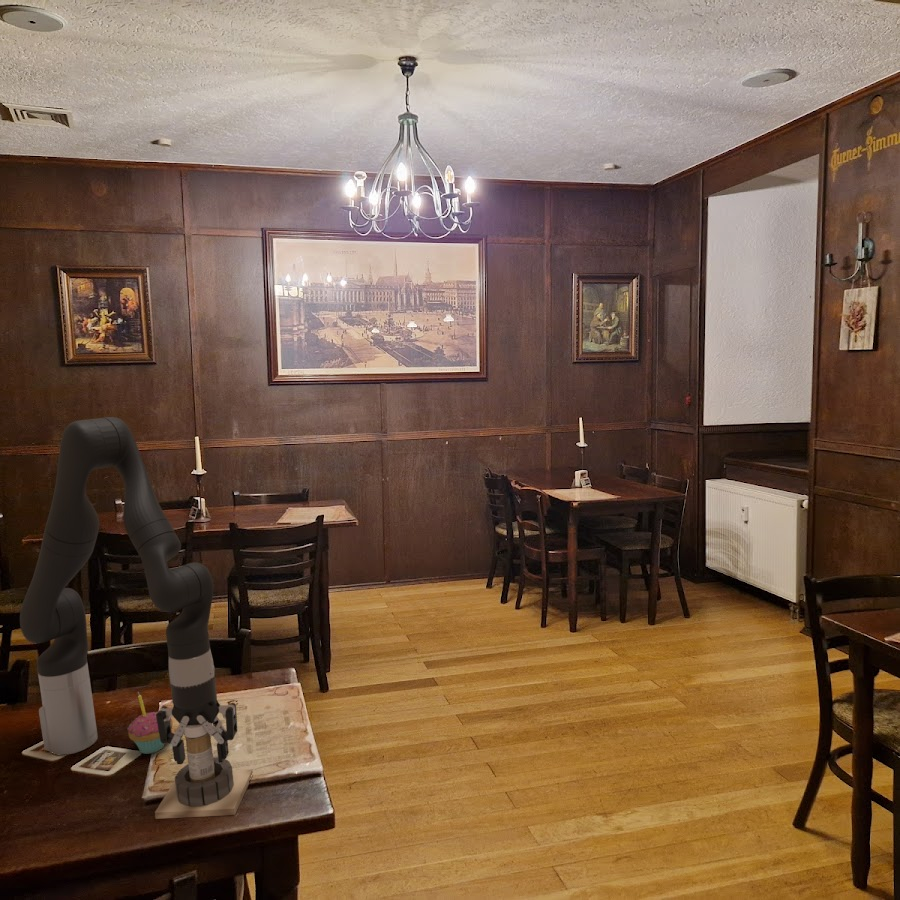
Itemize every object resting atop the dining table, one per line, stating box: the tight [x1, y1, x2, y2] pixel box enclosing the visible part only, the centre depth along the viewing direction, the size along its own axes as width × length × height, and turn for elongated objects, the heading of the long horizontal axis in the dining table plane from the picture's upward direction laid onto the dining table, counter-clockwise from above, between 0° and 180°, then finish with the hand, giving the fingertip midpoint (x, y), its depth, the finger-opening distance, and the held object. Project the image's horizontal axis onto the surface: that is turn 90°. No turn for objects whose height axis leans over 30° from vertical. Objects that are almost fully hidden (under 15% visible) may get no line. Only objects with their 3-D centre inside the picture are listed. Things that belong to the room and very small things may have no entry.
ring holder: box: [154, 756, 254, 820], centre depth 138 cm, size 14×12×5 cm
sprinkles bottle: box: [183, 725, 215, 783], centre depth 137 cm, size 5×5×13 cm
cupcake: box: [127, 691, 174, 755], centre depth 155 cm, size 9×8×12 cm
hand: (202, 760), depth 137 cm, fingers open, 7 cm apart
